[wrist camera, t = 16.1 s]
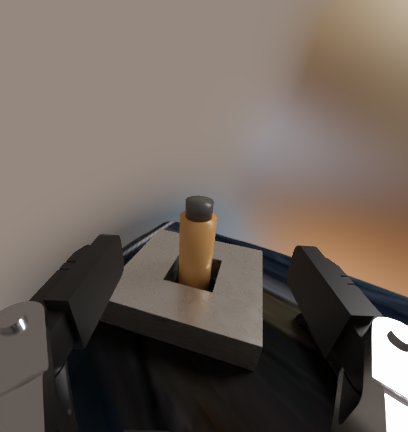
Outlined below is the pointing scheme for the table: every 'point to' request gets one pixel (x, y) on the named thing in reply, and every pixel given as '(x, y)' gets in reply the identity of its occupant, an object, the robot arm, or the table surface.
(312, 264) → the robot arm
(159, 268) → the grey square-holed plate
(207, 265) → the plug
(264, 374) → the table surface
